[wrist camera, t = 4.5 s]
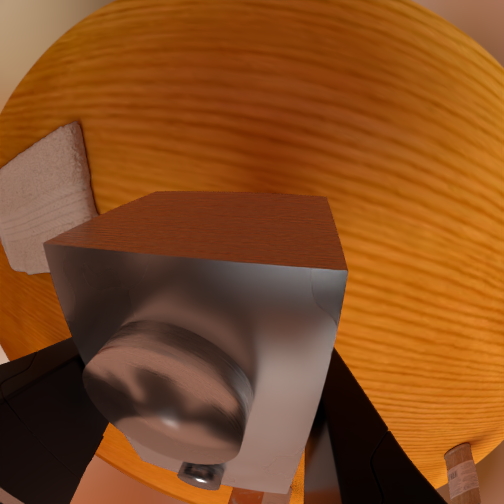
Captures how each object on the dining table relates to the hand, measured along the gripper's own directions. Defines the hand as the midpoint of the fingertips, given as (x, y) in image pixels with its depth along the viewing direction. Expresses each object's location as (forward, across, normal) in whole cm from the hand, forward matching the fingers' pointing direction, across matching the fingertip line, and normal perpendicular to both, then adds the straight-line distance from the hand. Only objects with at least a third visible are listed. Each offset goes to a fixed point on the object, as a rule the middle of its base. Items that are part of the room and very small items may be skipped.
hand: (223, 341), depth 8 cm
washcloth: (+12, +22, -1) cm, 25 cm away
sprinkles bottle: (+11, -30, +31) cm, 44 cm away
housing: (+2, 0, 0) cm, 2 cm away
